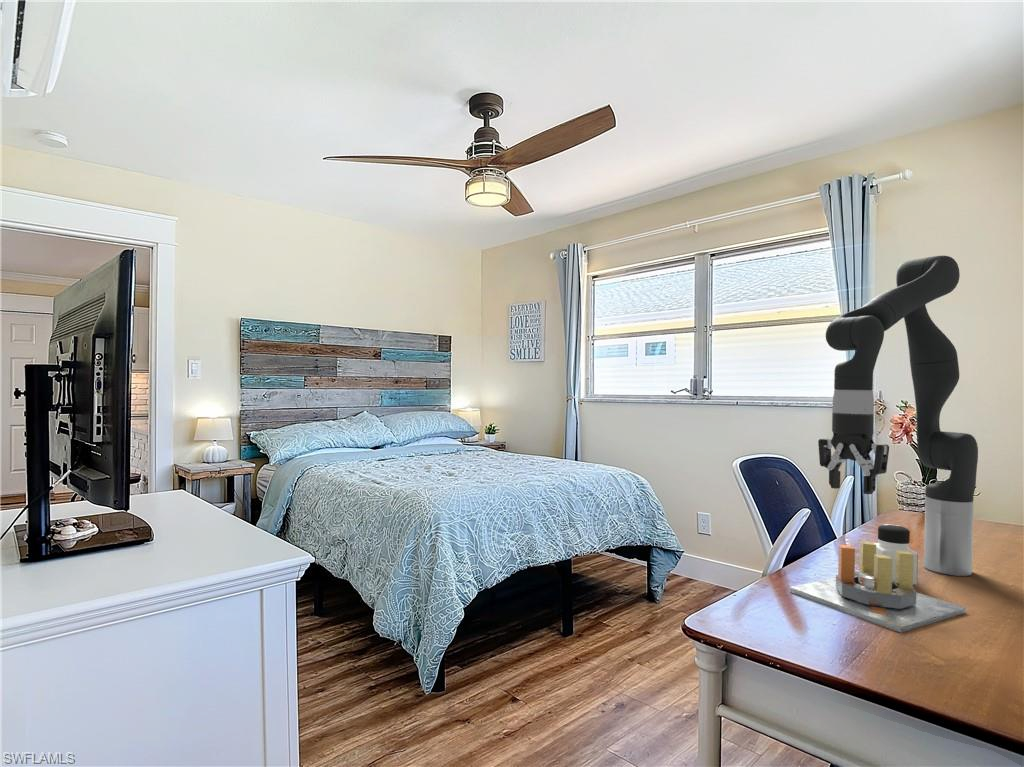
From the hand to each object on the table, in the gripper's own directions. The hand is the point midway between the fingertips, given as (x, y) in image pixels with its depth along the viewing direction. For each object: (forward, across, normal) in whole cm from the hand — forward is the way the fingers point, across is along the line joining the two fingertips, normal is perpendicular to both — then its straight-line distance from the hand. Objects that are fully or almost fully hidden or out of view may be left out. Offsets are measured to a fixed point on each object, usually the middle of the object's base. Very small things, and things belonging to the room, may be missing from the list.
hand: (851, 490), depth 121 cm
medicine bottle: (+22, +2, -19) cm, 29 cm away
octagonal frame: (+20, -5, 0) cm, 21 cm away
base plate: (+22, -5, 0) cm, 22 cm away
